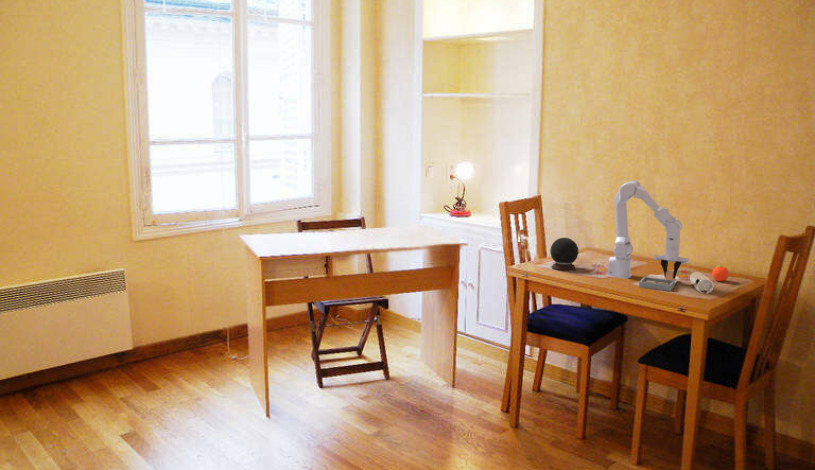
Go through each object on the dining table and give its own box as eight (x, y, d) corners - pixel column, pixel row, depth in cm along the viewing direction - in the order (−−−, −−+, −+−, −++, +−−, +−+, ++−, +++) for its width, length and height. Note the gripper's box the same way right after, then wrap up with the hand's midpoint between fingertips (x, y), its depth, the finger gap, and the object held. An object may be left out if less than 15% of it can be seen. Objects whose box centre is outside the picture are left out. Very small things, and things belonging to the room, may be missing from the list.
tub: (638, 288, 326) (639, 281, 326) (643, 283, 335) (644, 276, 334) (670, 292, 320) (670, 285, 320) (674, 287, 329) (674, 280, 328)
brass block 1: (645, 285, 329) (645, 281, 328) (646, 284, 330) (646, 280, 330) (655, 287, 327) (655, 282, 326) (656, 286, 328) (656, 281, 328)
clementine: (706, 279, 343) (707, 264, 341) (717, 278, 345) (719, 262, 344) (719, 283, 335) (721, 268, 334) (731, 282, 338) (733, 266, 337)
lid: (644, 281, 335) (644, 272, 334) (648, 276, 343) (649, 267, 343) (674, 284, 329) (675, 275, 328) (678, 278, 337) (679, 270, 336)
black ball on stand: (575, 272, 353) (576, 241, 350) (547, 270, 358) (548, 239, 355) (579, 266, 365) (581, 236, 362) (552, 264, 370) (553, 234, 367)
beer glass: (706, 284, 332) (715, 292, 317) (689, 287, 333) (698, 295, 318) (703, 269, 331) (712, 276, 316) (687, 272, 332) (695, 279, 317)
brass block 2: (658, 287, 326) (658, 283, 325) (657, 286, 327) (657, 282, 327) (667, 288, 325) (668, 283, 325) (667, 287, 327) (667, 282, 326)
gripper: (653, 247, 332) (651, 277, 334) (688, 251, 325) (685, 281, 327) (656, 244, 338) (654, 274, 340) (690, 248, 331) (688, 278, 334)
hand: (669, 277), depth 334 cm, fingers closed on lid, 3 cm apart
